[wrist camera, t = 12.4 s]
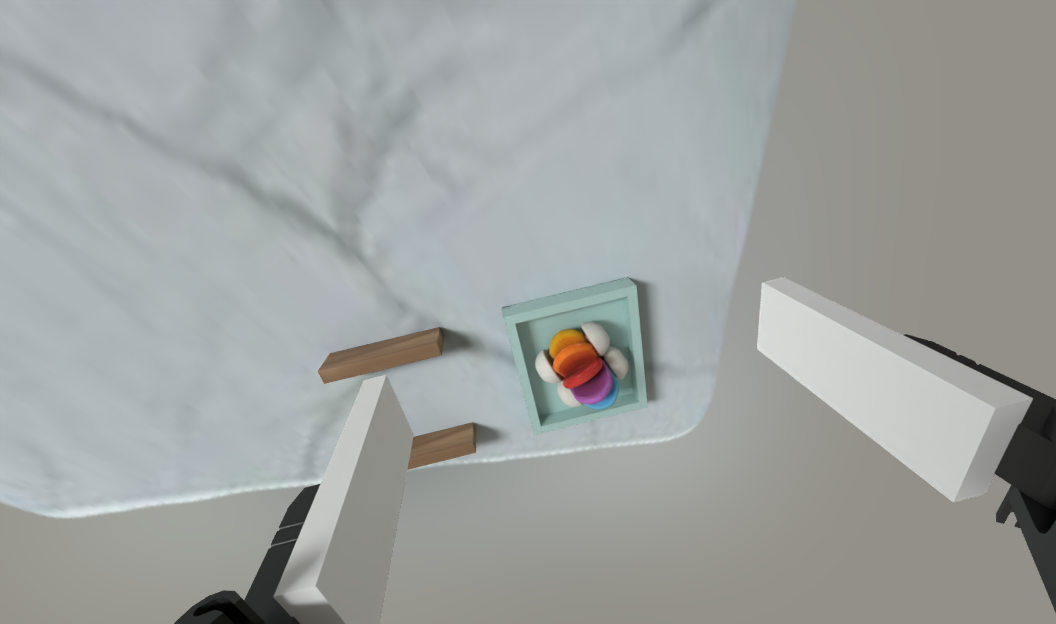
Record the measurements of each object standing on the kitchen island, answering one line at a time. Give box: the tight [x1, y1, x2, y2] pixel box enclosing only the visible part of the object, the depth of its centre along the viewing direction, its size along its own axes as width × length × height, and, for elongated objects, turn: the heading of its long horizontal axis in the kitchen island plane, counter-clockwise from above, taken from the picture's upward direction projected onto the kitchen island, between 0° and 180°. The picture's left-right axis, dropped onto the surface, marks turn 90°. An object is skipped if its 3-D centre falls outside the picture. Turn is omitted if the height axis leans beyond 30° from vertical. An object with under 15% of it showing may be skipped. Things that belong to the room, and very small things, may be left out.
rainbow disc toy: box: [535, 322, 628, 410], centre depth 41 cm, size 8×10×7 cm
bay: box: [318, 327, 476, 470], centre depth 43 cm, size 15×12×4 cm
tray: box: [502, 277, 648, 435], centre depth 44 cm, size 16×14×2 cm
